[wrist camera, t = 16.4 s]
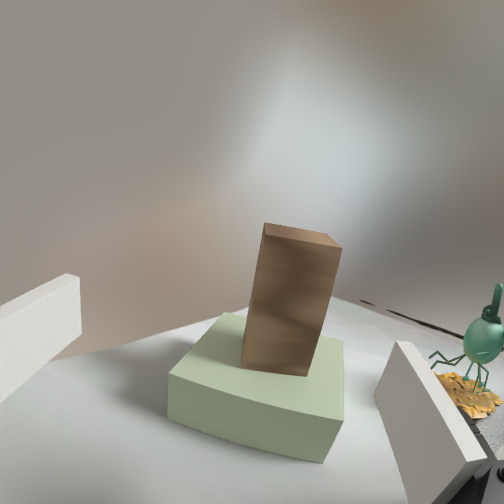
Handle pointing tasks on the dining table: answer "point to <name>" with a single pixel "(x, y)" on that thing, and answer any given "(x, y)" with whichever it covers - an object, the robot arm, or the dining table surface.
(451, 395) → the green insect figurine
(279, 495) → the dining table surface
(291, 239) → the walnut block
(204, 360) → the sage block
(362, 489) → the dining table surface
